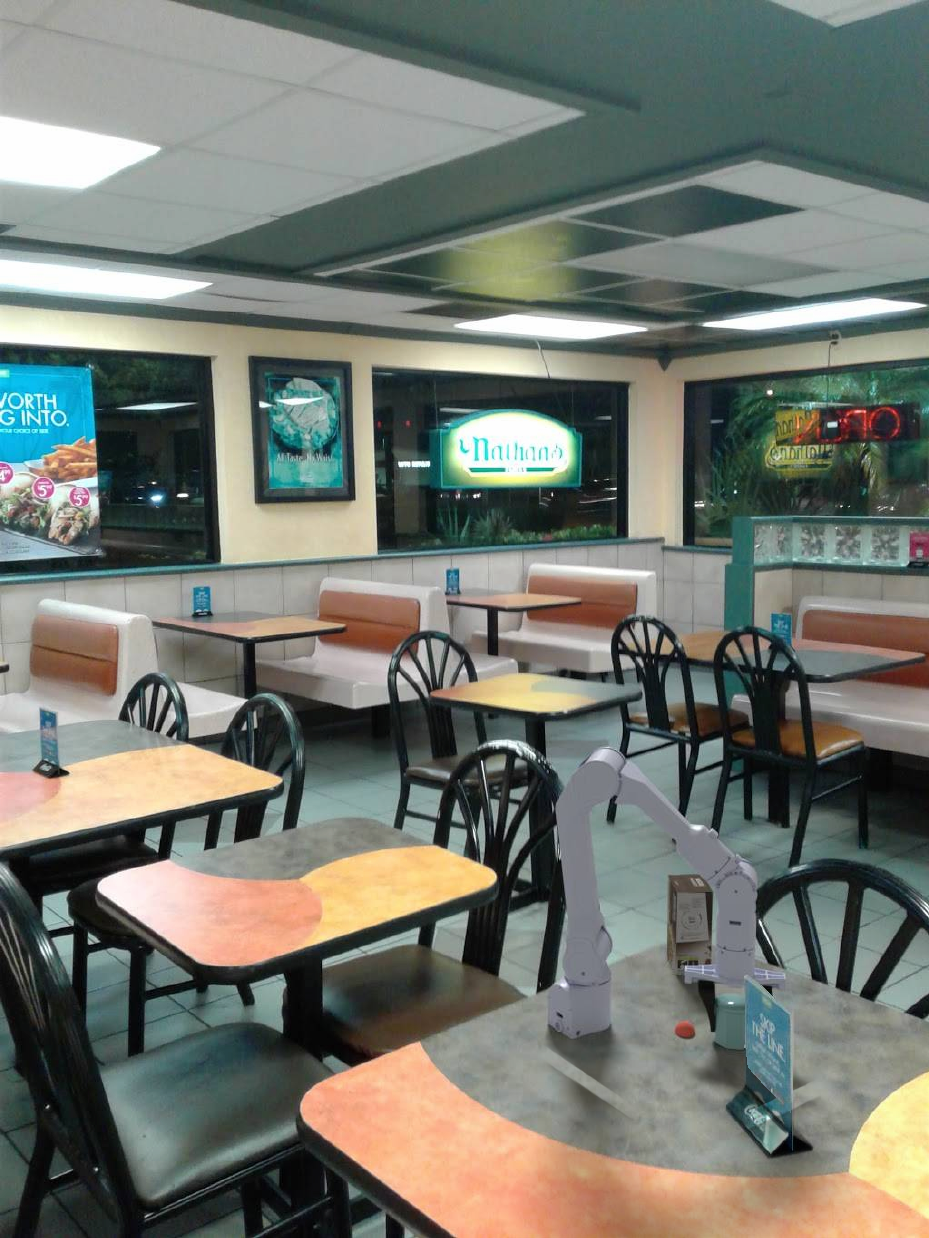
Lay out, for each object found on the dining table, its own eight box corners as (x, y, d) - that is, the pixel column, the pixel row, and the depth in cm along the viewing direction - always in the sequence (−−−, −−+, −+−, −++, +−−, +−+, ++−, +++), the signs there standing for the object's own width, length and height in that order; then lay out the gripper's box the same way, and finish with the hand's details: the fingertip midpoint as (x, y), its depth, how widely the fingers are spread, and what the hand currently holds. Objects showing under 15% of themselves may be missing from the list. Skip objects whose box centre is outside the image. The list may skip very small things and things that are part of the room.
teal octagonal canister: (734, 1053, 160) (735, 1014, 160) (705, 1037, 165) (706, 999, 164) (760, 1042, 164) (762, 1004, 163) (731, 1027, 168) (733, 989, 168)
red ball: (684, 1047, 165) (685, 1029, 165) (670, 1039, 168) (670, 1021, 167) (698, 1042, 167) (699, 1023, 167) (684, 1034, 169) (685, 1015, 169)
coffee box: (712, 983, 187) (714, 892, 185) (674, 983, 187) (675, 891, 185) (702, 960, 196) (703, 873, 194) (665, 960, 196) (667, 873, 194)
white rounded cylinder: (730, 1018, 174) (730, 982, 174) (703, 1004, 179) (704, 969, 178) (754, 1008, 178) (755, 973, 177) (727, 995, 182) (728, 961, 181)
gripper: (685, 951, 160) (683, 1039, 162) (788, 958, 157) (786, 1048, 159) (685, 931, 167) (683, 1016, 169) (784, 938, 164) (781, 1025, 166)
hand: (733, 1030), depth 164 cm, fingers closed on teal octagonal canister, 5 cm apart
